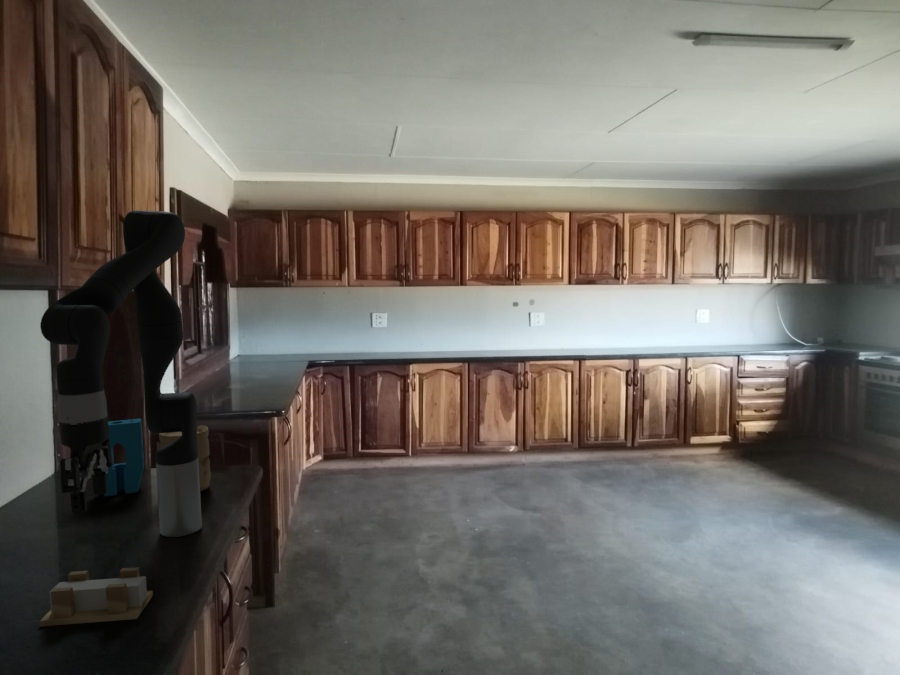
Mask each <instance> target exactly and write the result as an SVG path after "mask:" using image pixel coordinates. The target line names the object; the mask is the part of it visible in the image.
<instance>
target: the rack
mask: <svg viewBox="0 0 900 675" xmlns="http://www.w3.org/2000/svg"><path fill="white" fill-rule="evenodd" d="M89 574H90V573H89V570H82V571H81V570H79V571H70V572H69V573H68V574H67V578H68V581H67V582H71V581H86V580H90V578H89V577H90V576H89ZM128 577H141V574H140V566H138V567H124V568H123V567H122V568H121V569H120V571H119V578H128ZM53 588H54V587H53ZM53 588H52V589H53ZM52 589H51V590H52ZM51 590H50V591H51ZM153 596H154V590H147V598H146V599H145V600H144V602H143V603H142V605H141V606H140V607H130V608H128V599H127V584H126V583H122V584H109V585H108V586H107V587H106V599H107V609H104V610H91V611H78V612H75V610H74V598H73V587H65V588H54V589H53V590H52V591H51V599H52V610H53V613H52V614H51V609H49V611H48V612H47V613H46V614H45V615H44V616H43V617H42V618H41V619H40V620H39V627H51V626H62V625H63V626H64V625H76V624H79V625H80V624H89V623H101V622H102V623H103V622H104V623H105V622H115V621H117V622H118V621H127V620H130V621H131V620H138V619H139V617H140V615H141V614H142V612H143V611H144V610H145V608H146V606H147V605H148V604H149V602H150V601H151V599H152V598H153Z"/></svg>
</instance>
